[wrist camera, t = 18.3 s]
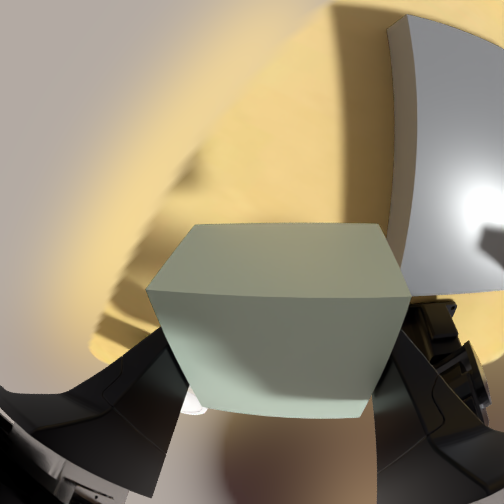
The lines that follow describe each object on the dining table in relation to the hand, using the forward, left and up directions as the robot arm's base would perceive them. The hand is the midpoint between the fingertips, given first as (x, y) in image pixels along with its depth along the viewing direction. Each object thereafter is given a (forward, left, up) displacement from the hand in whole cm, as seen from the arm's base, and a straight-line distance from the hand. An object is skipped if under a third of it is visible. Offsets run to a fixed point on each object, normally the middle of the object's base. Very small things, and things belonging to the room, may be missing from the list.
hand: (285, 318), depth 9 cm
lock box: (+4, -14, -12) cm, 18 cm away
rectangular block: (0, 0, -1) cm, 1 cm away
